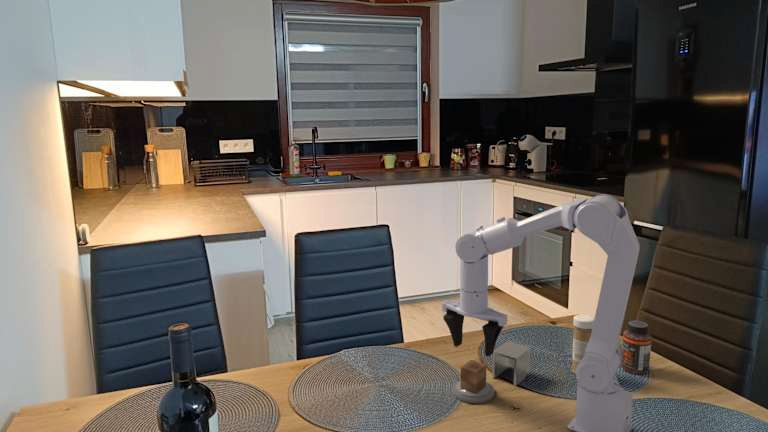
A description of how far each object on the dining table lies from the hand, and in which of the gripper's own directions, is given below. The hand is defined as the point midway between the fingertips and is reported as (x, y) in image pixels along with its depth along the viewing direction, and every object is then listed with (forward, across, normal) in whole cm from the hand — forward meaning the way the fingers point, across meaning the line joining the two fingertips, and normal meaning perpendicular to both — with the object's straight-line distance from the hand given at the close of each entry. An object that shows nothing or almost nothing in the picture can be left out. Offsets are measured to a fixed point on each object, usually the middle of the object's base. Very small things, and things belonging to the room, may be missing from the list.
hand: (473, 349), depth 114 cm
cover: (+10, -3, -12) cm, 16 cm away
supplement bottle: (+10, -24, -32) cm, 41 cm away
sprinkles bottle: (+10, -15, -23) cm, 29 cm away
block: (+9, 0, 0) cm, 9 cm away
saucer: (+10, 0, 0) cm, 10 cm away
